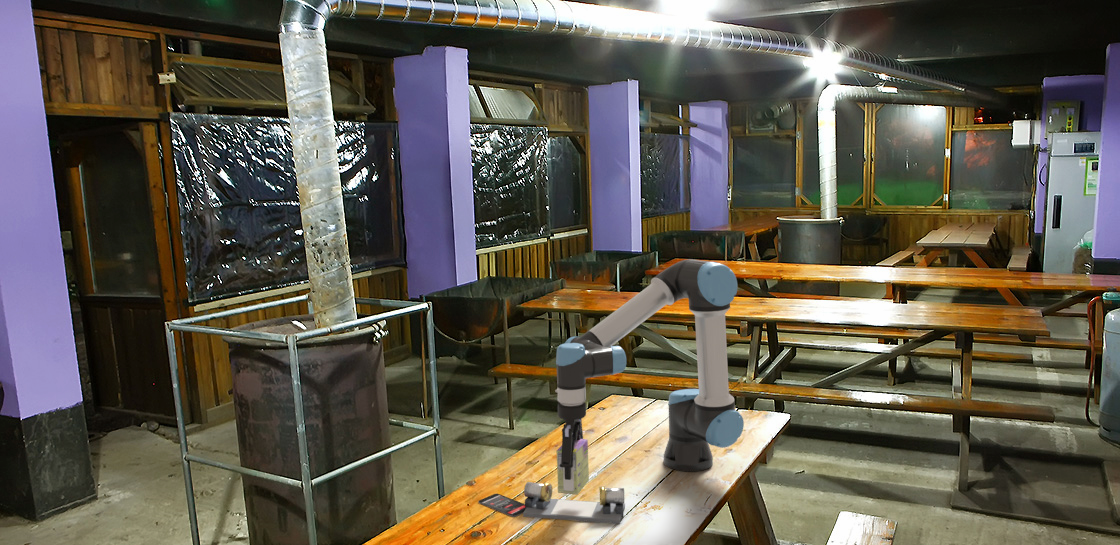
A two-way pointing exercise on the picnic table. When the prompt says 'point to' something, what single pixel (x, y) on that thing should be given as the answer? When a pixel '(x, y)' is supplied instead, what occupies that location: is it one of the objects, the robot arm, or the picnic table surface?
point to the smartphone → (503, 505)
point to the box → (575, 467)
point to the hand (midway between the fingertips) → (573, 481)
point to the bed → (575, 511)
